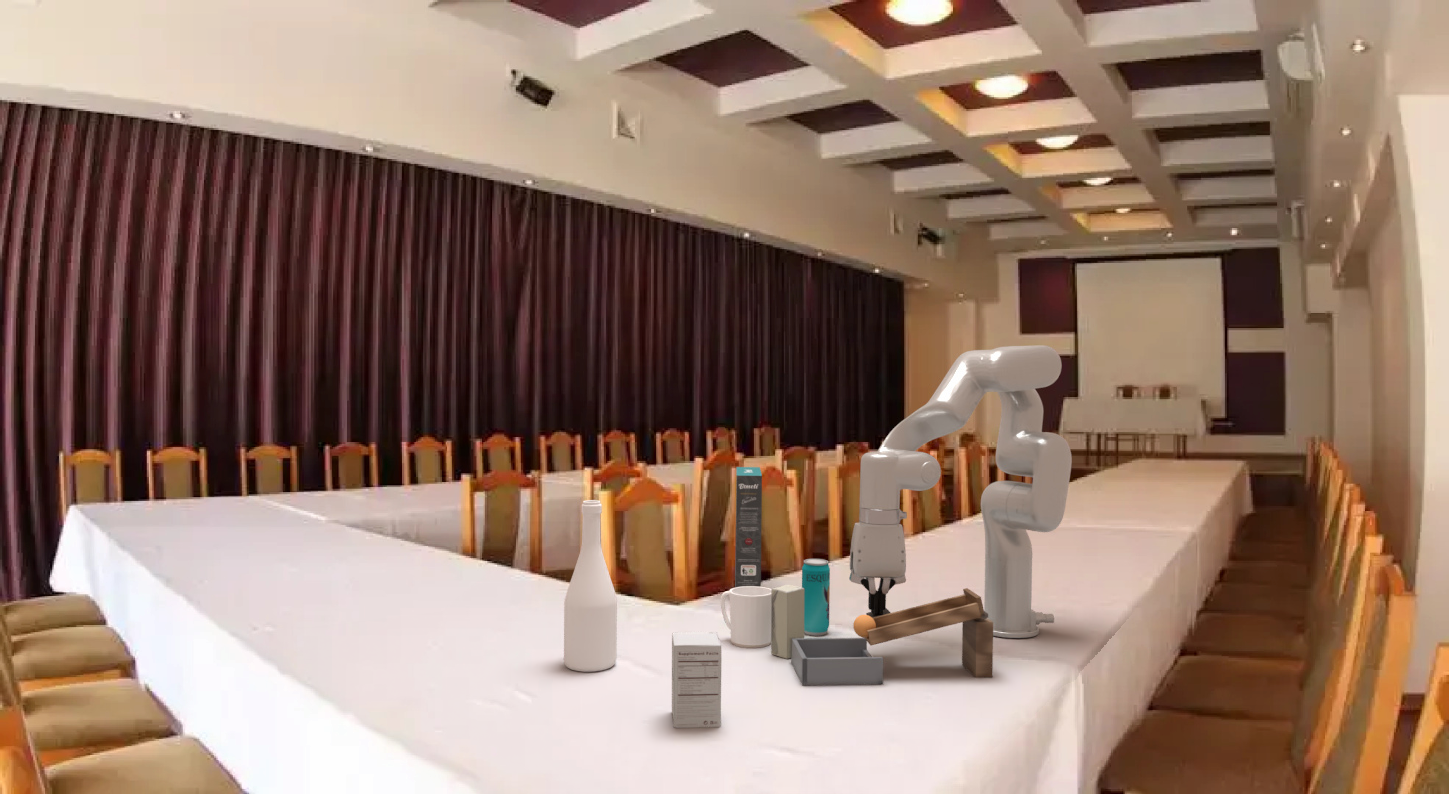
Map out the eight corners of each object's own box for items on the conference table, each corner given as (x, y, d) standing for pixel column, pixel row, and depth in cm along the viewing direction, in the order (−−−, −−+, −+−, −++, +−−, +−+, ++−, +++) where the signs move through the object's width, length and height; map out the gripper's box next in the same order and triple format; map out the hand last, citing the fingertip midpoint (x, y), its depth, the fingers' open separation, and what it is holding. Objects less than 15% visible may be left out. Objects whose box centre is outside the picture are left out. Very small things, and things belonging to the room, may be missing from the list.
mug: (778, 639, 187) (779, 588, 187) (766, 651, 179) (766, 597, 179) (727, 633, 191) (727, 584, 191) (712, 645, 182) (713, 593, 182)
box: (787, 649, 180) (788, 583, 180) (805, 654, 177) (805, 587, 176) (769, 655, 176) (770, 587, 176) (786, 660, 173) (787, 591, 173)
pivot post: (976, 663, 172) (977, 596, 172) (992, 677, 164) (993, 607, 164) (960, 663, 172) (961, 596, 172) (975, 677, 164) (976, 607, 163)
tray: (865, 661, 172) (865, 637, 172) (882, 684, 159) (883, 658, 159) (791, 662, 171) (791, 638, 171) (802, 685, 158) (802, 659, 158)
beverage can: (827, 637, 188) (828, 564, 188) (799, 635, 190) (800, 563, 189) (830, 630, 194) (831, 559, 194) (803, 628, 195) (803, 557, 195)
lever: (959, 597, 179) (955, 577, 179) (989, 618, 164) (984, 596, 164) (852, 624, 178) (848, 604, 178) (872, 648, 162) (867, 626, 162)
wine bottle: (573, 676, 162) (574, 505, 162) (557, 661, 171) (558, 499, 170) (624, 669, 166) (625, 502, 166) (605, 655, 175) (607, 496, 174)
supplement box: (670, 711, 145) (671, 631, 145) (717, 710, 146) (718, 630, 146) (672, 729, 138) (672, 644, 138) (721, 728, 139) (722, 644, 138)
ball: (854, 610, 167) (849, 631, 167) (858, 615, 163) (853, 637, 163) (875, 614, 168) (870, 636, 168) (880, 620, 164) (875, 642, 164)
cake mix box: (760, 602, 218) (762, 475, 218) (735, 602, 219) (736, 475, 218) (758, 582, 240) (759, 467, 240) (735, 582, 240) (736, 467, 240)
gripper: (912, 515, 180) (910, 609, 180) (836, 514, 179) (834, 608, 179) (923, 520, 173) (920, 618, 173) (844, 519, 171) (841, 618, 172)
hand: (876, 613), depth 176 cm, fingers closed
